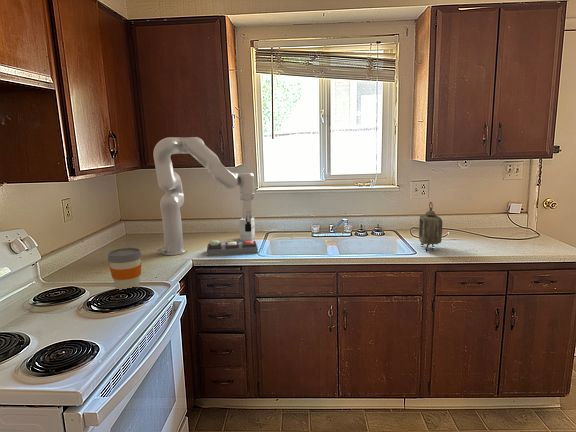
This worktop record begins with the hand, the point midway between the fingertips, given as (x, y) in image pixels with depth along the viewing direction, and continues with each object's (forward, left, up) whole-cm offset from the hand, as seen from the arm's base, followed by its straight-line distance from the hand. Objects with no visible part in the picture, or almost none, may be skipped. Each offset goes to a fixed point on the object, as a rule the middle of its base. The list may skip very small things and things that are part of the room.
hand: (248, 231), depth 214 cm
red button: (0, 0, -8) cm, 8 cm away
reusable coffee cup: (-67, -7, -11) cm, 69 cm away
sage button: (-15, +10, -6) cm, 19 cm away
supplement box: (+15, +21, -11) cm, 28 cm away
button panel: (-7, +5, -11) cm, 14 cm away
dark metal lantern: (+69, -66, -11) cm, 96 cm away
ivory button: (-7, +5, -8) cm, 12 cm away
